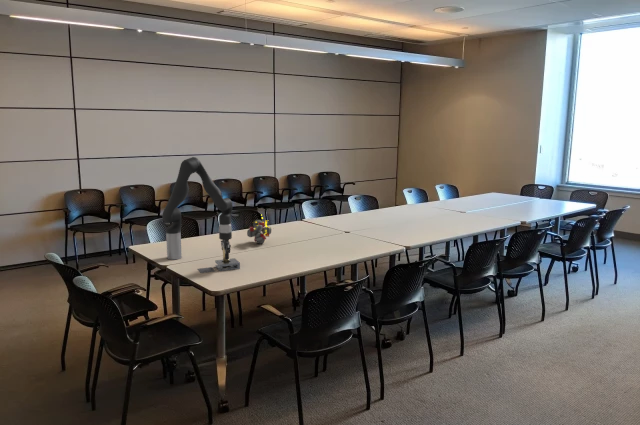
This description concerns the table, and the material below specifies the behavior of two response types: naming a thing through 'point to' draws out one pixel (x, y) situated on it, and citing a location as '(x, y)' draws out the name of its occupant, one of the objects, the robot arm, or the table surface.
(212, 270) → the rubber mat
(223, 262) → the brass pin
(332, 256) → the table surface
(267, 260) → the table surface
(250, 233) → the molecule model
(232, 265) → the grey flat block
